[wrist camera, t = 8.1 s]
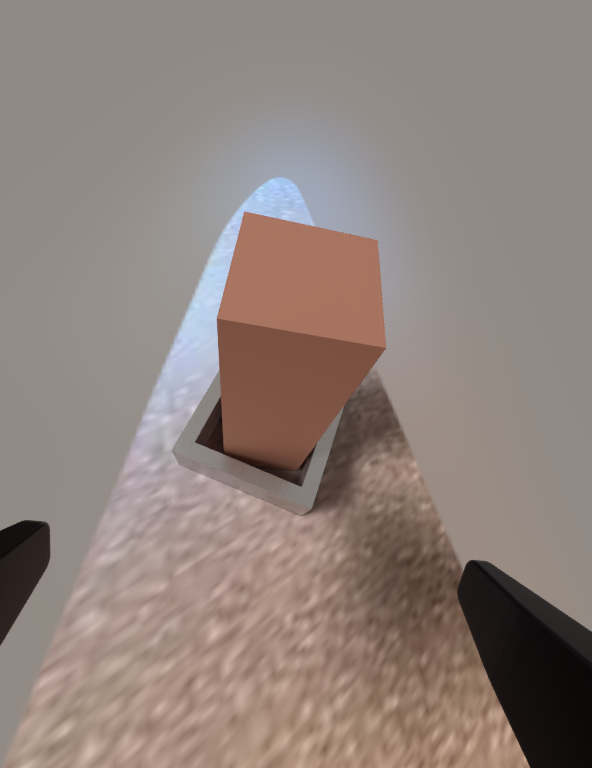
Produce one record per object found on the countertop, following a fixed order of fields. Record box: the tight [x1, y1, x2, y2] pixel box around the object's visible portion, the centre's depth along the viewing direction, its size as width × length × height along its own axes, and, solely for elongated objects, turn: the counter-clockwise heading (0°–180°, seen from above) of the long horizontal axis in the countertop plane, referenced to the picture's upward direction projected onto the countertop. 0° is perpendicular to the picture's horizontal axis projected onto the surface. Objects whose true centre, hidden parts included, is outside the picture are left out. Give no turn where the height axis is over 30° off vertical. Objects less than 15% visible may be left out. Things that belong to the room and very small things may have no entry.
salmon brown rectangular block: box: [217, 212, 386, 471], centre depth 14 cm, size 4×4×12 cm
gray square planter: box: [172, 370, 344, 516], centre depth 18 cm, size 7×7×2 cm
